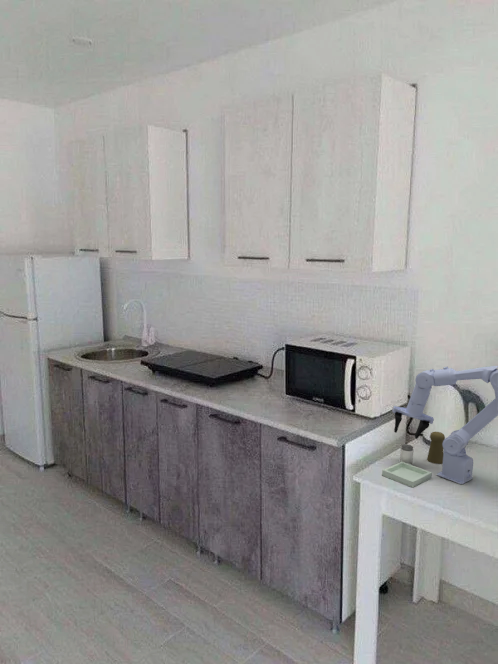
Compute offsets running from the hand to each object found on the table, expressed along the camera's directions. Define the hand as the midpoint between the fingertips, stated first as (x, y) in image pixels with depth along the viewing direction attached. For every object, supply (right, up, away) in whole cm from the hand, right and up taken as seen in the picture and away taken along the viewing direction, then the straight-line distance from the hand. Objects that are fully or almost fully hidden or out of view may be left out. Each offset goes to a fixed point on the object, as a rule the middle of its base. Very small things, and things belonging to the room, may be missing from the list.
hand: (405, 434), depth 191 cm
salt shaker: (0, -11, +1) cm, 11 cm away
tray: (-3, -13, -10) cm, 16 cm away
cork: (+13, -11, +5) cm, 17 cm away
